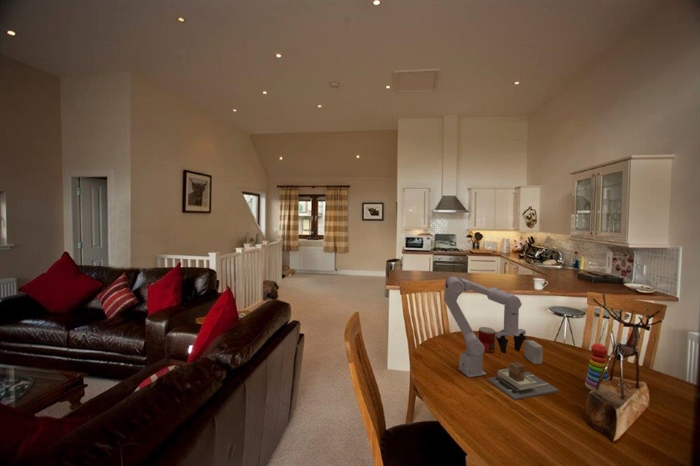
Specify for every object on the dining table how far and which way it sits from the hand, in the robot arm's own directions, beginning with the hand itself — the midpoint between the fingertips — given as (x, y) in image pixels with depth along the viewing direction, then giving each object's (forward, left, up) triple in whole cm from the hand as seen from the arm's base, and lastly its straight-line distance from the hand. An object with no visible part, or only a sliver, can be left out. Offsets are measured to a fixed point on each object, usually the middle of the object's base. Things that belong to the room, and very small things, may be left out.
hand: (510, 351), depth 135 cm
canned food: (+8, +24, -11) cm, 27 cm away
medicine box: (+22, +8, -11) cm, 26 cm away
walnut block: (-5, -9, -7) cm, 12 cm away
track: (-2, -9, -10) cm, 14 cm away
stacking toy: (+26, -19, -11) cm, 34 cm away
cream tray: (-5, -9, -9) cm, 14 cm away
